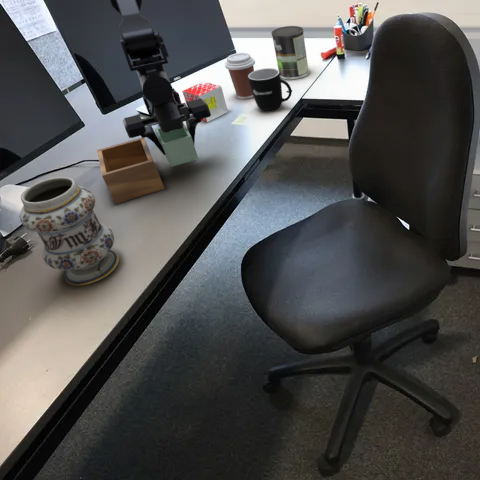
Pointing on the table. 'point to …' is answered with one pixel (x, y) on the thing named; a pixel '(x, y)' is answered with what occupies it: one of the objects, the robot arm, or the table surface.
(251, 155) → the table surface
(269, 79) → the mug
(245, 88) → the coffee cup
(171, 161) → the bin
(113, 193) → the crate
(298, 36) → the coffee can
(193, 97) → the red and white cube
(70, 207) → the apothecary jar
